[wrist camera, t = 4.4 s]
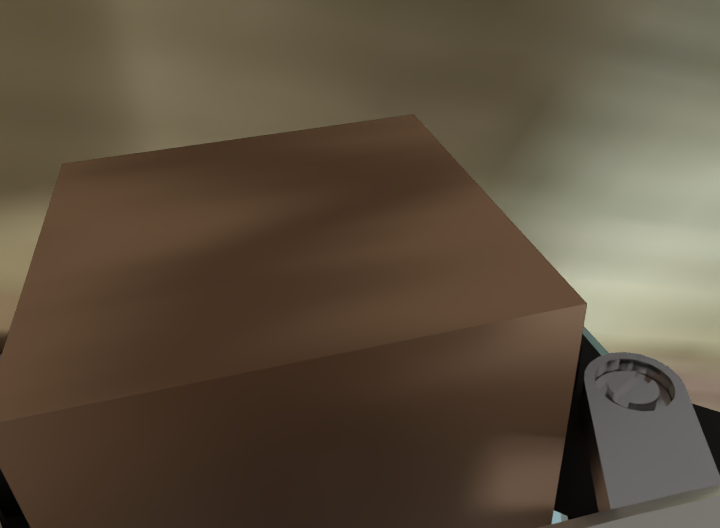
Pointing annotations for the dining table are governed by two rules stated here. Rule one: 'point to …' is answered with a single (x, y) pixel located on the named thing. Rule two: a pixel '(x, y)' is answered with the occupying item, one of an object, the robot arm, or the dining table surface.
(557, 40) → the dining table surface
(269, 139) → the walnut block
